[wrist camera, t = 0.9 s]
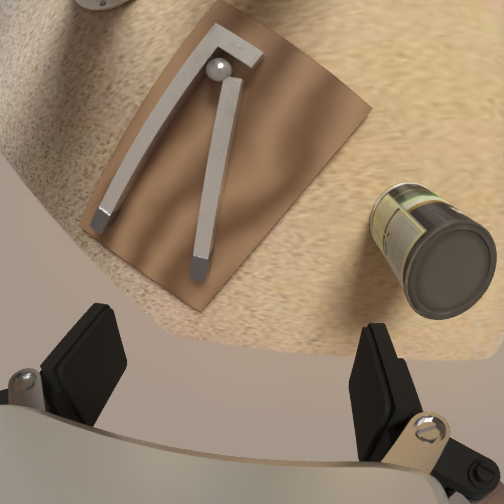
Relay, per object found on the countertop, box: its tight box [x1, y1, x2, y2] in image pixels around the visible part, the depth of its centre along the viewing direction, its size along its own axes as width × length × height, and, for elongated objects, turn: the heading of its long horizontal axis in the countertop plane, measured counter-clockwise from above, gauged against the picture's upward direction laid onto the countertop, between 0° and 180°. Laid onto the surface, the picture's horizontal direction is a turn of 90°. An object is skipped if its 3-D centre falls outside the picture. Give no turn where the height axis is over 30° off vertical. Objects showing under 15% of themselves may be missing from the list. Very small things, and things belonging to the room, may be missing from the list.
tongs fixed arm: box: [89, 23, 265, 235], centre depth 33 cm, size 28×6×3 cm, turn 143°
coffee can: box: [370, 182, 497, 320], centre depth 32 cm, size 10×10×14 cm
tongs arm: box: [189, 58, 245, 282], centre depth 34 cm, size 25×4×3 cm, turn 168°
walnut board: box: [79, 0, 373, 312], centre depth 36 cm, size 21×34×2 cm, turn 143°
